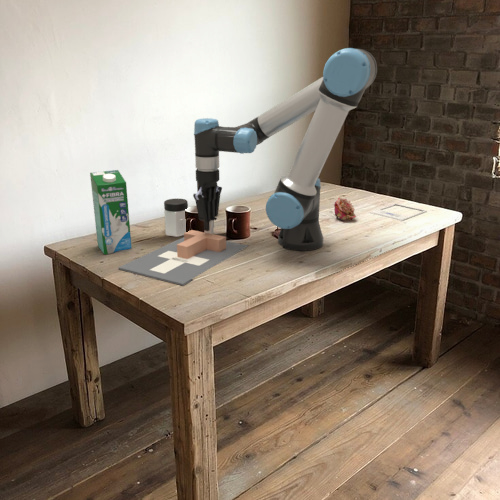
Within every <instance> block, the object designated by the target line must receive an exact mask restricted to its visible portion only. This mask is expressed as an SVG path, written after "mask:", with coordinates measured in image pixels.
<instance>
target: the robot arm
mask: <svg viewBox="0 0 500 500" xmlns="http://www.w3.org/2000/svg"><path fill="white" fill-rule="evenodd" d="M377 73H378V66H377V61H376V59H375V57H374V56H373V55H372V53H371V52H369V51H367V50H365V49H363V48H353V47H346V48H342V49H339V50H338V51H336V52H334V53H333V54H332V55H331V56H330V57H328V60H327V61H326V62H325V64H324V68H323V72H322V76H321V77H320V78H318V79H317V80H315V81H313V82H312V83H310V84H309V85H307V86H305V87H304V88H302V89H301V90H299V91H297V92H295V93H294V94H292V95H291V96H289V97H287V98H285V99H284V100H283V101H281V102H279V103H277V104H276V105H274V106H273V107H271V108H269V109H268V110H266V111H265V112H263V113H261V114H260V115H258V116H256V117H254V118H253V119H252V120H249V121H248V122H246V123H244V124H241V125H238V126H222V125H221V126H220V123H219V120H218V119H217V118H212V117H211V118H208V117H207V118H199V119H196V120H195V121H194V128H193V129H194V130H193V136H194V152H195V153H194V156H195V181H196V183H197V182H198V183H199V186H198V192H196V193H193V195H192V197H193V198H194V200H195V205H196V211H197V216H198V220H199V221H202V222H203V231H204V233H209V234H214V233H215V231H214V230H215V229H214V228H215V222H214V221H216V220H218V219H217V217H218V216H219V209H220V202H221V201H220V199H221V194H222V189H223V187H222V186H219V185H218V182H219V181H220V169H219V168H220V152H225V153H236V154H240V155H241V154H243V155H244V154H252V153H254V151H255V149H256V148H257V146H258V145H260V144H262V143H263V142H264V141H266V140H268V139H269V138H270V137H272V136H274V135H276V134H277V133H279V132H281V131H283V130H285V129H286V128H288V127H290V126H292V125H293V124H295V123H297V122H298V121H300V120H301V119H303V118H305V117H307V116H309V115H310V114H312V113H313V115H312V118H311V120H310V122H309V125H308V126H307V129H306V131H305V134H304V136H303V138H302V141H301V144H300V145H299V148H298V151H297V152H296V155H295V157H294V159H293V162H292V165H291V166H290V169H289V171H288V173H287V174H284V175H282V176H281V177H280V179H279V182H278V184H277V186H276V187H275V190H274V192H273V193H272V194H271V195H270V196H269V198H268V199H267V201H266V203H265V204H266V205H265V212H266V213H265V214H266V215H267V218H268V220H269V221H270V222H271V224H273V225H274V226H275V227H277V228H280V231H279V233H278V236H277V238H278V239H277V242H278V244H279V245H280V246H281V247H282V248H284V249H285V250H292V251H304V252H305V251H314V250H318V249H320V248H322V247H323V246H324V235H323V231H322V228H321V225H320V221H319V220H320V206H321V205H320V203H321V200H320V199H321V189H322V187H321V178H319V176H320V174H321V172H322V170H323V168H324V165H325V163H326V162H327V159H328V157H329V155H330V153H331V151H332V148H333V146H334V144H335V142H336V140H337V138H338V136H339V134H340V131H341V130H342V127H343V125H344V123H345V121H346V118H347V116H348V115H349V112H350V111H351V110H354V109H355V108H358V105H359V103H360V101H361V99H362V97H363V94H364V93H365V92H366V91H365V90H367V89H368V88H369V87H370V86H371V85H372V84H373V83H374V81H375V79H376V77H377ZM214 235H215V234H214Z"/></svg>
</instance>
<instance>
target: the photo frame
mask: <svg viewBox="0 0 500 500" xmlns="http://www.w3.org/2000/svg"><path fill="white" fill-rule="evenodd" d="M395 206H400V207H403V208H408V209H412V210H417V211H420V212H417V213H414V214H412V215H409V216H407V215H402V214H398V213H395V212H390V211H386V209H389V208H391V207H395ZM427 212H428V211H427V210H426V209H420V208H417V207H413V206H409V205H408V206H407V205H403V204H398V203H392V204H390V205H388V206H384V207H381V208H378V209H374V210H371V211H369V213H370V214H373V215H376V216H379V217H384V218H387V219H392V220H395V221H400V222H405V221H406V220H409V219H412V218H413V217H418V216H419V215H423V214H425V213H427Z"/></svg>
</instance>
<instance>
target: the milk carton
mask: <svg viewBox="0 0 500 500" xmlns="http://www.w3.org/2000/svg"><path fill="white" fill-rule="evenodd" d="M89 174H90V175H89V176H90V183H91V184H90V185H91V195H92V203H93V213H94V221H95V222H94V223H95V224H94V225H95V231H96V232H95V233H96V240H97V241H96V242H97V247H98V248H99V250H100V251H101V252H102V253H103V255H110V254H114V253H115V254H116V253H117V252H121V251H126V250H131V249H132V237H131V226H130V214H129V213H130V212H129V203H128V202H129V199H128V189H127V188H128V187H127V181H126V180H125V178H124V177H123V175H122V174H121V172H120V170H118V169H116V170H114V169H113V170H105V171H94V172H90V173H89Z"/></svg>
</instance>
